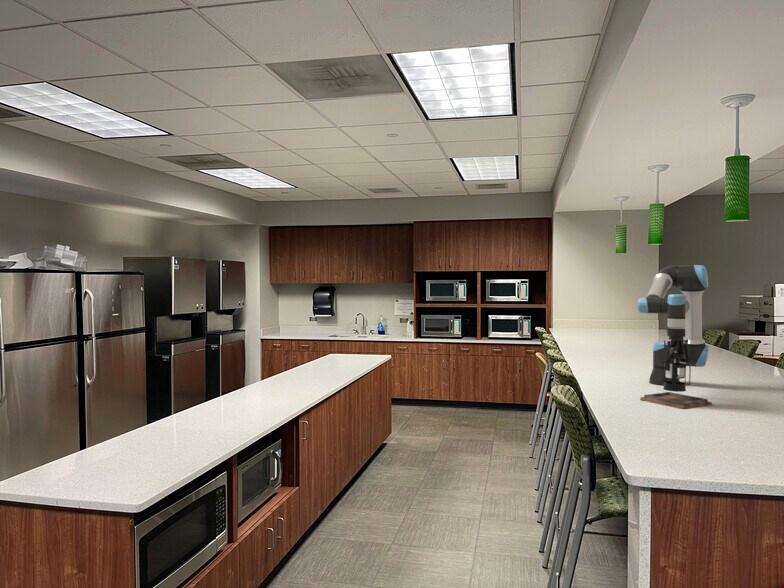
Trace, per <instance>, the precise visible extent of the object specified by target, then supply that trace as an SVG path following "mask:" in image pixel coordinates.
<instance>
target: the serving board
mask: <svg viewBox="0 0 784 588" xmlns="http://www.w3.org/2000/svg"><path fill="white" fill-rule="evenodd" d="M640 401H644V402H647V403H648V402H649V403H653V404H658V405H662V406H666V407H672V408H675V409H676V408H677V409H681V410H686V409H693V408H699V407H706V406H707V407H708V406H712V405H713V402H712V401H709V399H707V398H702V397H698V396H691V395H686V394H681V393H676V392H672V391H666V392H665V391H664V392H656V393H650V394H644V396H643V397H642V396H640Z"/></svg>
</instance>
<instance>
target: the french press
mask: <svg viewBox="0 0 784 588" xmlns="http://www.w3.org/2000/svg"><path fill="white" fill-rule="evenodd" d="M678 341H679V340H678ZM672 355H673V358H672V359H685V355H686V354H685V353H680V352H676V350H675V352H674V354H672ZM670 364H672V381H665V377H666V375H665V363H664V385H663V387H662V389H663V390H665V391H666V392H675V393H676V392H680V393H681V392H686V391H687V390H686V387H687V385H688V386H690V385H691V375H692V374H691V367H692V366H690V365H686V364H683V363H670ZM687 367H689V375H688V376H689V377H688V378H689V379H688V382H689V383H686V381H687V379H686V377H687V375H686V374H687V373H686V371H687V370H686V369H687ZM679 368H685V376H682V375H679V373H678V372H679V371H678V369H679ZM677 379H680V380H681V379H684V382H683V381H680V382H678V381H677Z"/></svg>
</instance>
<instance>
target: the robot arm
mask: <svg viewBox="0 0 784 588" xmlns="http://www.w3.org/2000/svg"><path fill="white" fill-rule="evenodd" d="M652 278H653V279H652V284H651V287H650V289H649V291H648V293H647V295H646V297H645V296H644V297H640V298H638V300H637V310H638V312H639V313H642V314H665V315H667V329H666V331H667V332H666V333H667V335H666V336H667V337H668V340H665V339H664V340H663V341H656V342H654V344H653V348H652V370H651V373H650V376H649V380H648V381H649V383H650V384H652V385H659V386H664V363H665V375H666V377H665V381H672V364H670V363H683V364H686V365H690V366H691V367H697V368H698V367H701V368H703V367H705V366H706V365H707V361H708V357H709V356H708V355H709V351H710V350H709V345H708V344H706V340H704V338H703V302H702V301H703V300H702V299H703V293H705V291H706V288H709V276H708V270H707V268H706V266H704V264H703V265H701V264H685V265H682V264H677V265H669V266H666V267H664V268H662V269H660V270H659V271H658V272H657V273H656V274H655V275H654V276H653V277H652ZM670 288H680V289H679V291H680V292H681V293H682V294H681V293H680V294H679V293H678V294H676V293H675V294H668V296H667V297H665V296H666V294H667V292H668V290H669V289H670ZM678 340H679V341H678ZM675 350H676V352H680V353H685V354H686V355H685V359H672V358H673V355H672V354H674V352H675ZM678 369H679V371H678V372H679V373H678V375H682V376H685V368H678ZM677 381H678V382H681V379H677Z"/></svg>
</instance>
